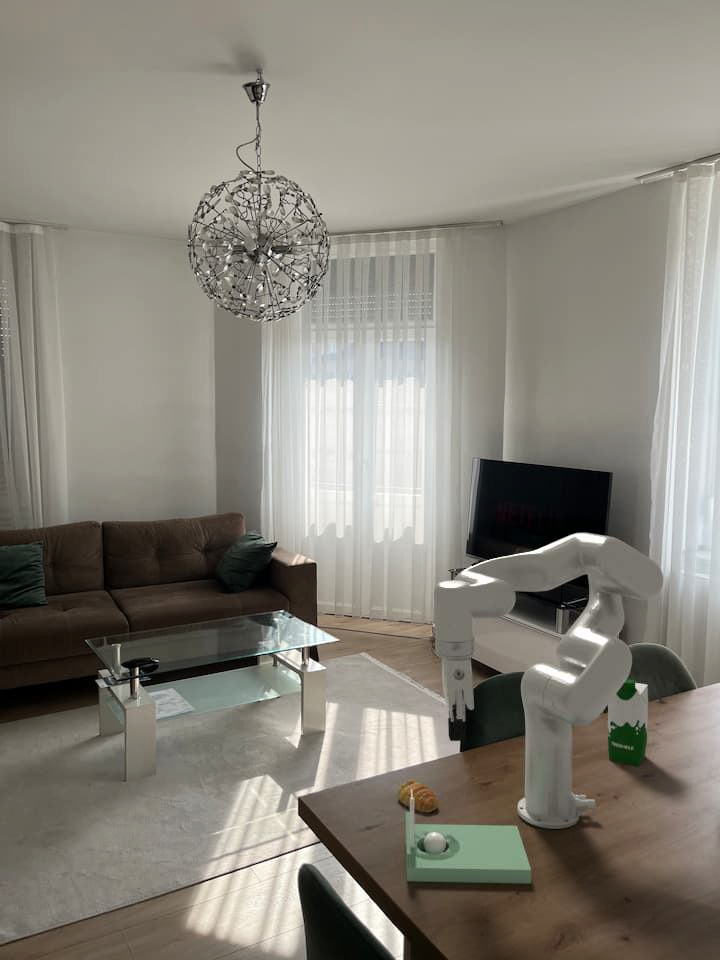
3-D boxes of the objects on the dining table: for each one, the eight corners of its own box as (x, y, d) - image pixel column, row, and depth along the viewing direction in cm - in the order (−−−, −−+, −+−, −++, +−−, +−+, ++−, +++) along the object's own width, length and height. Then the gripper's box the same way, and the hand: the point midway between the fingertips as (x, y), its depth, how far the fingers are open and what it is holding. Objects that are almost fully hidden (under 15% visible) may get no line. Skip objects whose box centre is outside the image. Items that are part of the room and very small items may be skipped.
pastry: (446, 808, 161) (446, 791, 161) (422, 818, 157) (422, 801, 157) (417, 791, 169) (417, 775, 168) (393, 801, 165) (393, 784, 164)
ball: (416, 842, 144) (431, 860, 144) (422, 845, 140) (437, 863, 140) (431, 826, 146) (446, 843, 145) (437, 828, 142) (453, 845, 141)
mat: (517, 838, 149) (517, 813, 149) (531, 883, 134) (531, 856, 134) (405, 836, 150) (405, 811, 149) (407, 881, 135) (406, 854, 135)
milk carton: (604, 760, 183) (605, 680, 182) (613, 747, 191) (614, 669, 190) (641, 769, 179) (643, 686, 177) (649, 755, 186) (651, 675, 185)
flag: (413, 860, 141) (413, 788, 140) (414, 874, 137) (414, 799, 136) (409, 860, 141) (409, 788, 140) (410, 874, 137) (409, 799, 136)
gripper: (481, 657, 137) (483, 755, 138) (468, 634, 152) (470, 722, 153) (439, 659, 137) (442, 757, 138) (431, 635, 152) (434, 724, 153)
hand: (457, 738), depth 146 cm, fingers closed
